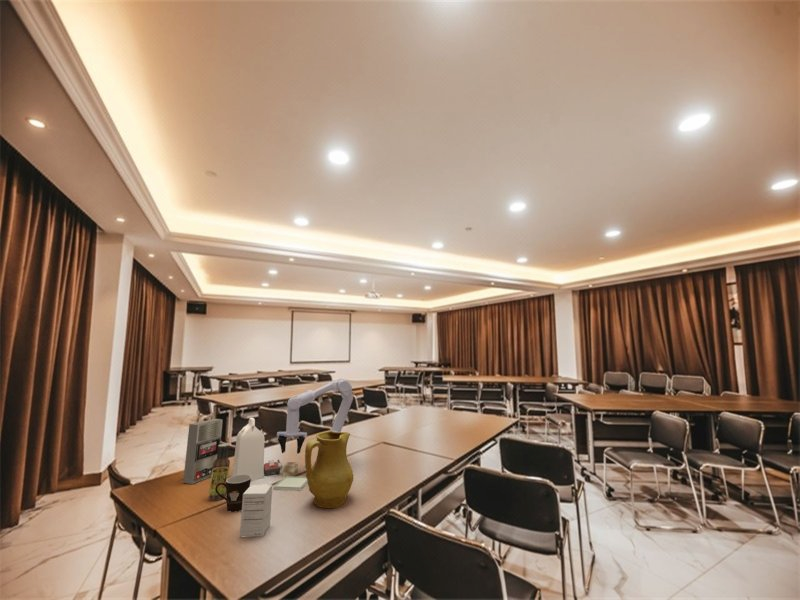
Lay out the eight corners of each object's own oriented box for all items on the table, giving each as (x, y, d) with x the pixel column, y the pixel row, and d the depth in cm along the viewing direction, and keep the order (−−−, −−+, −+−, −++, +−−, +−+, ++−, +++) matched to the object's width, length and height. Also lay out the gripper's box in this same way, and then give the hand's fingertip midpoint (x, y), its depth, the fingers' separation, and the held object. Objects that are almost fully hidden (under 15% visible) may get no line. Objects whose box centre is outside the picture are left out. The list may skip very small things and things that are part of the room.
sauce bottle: (207, 502, 123) (212, 447, 127) (209, 496, 129) (214, 443, 132) (226, 499, 126) (230, 445, 129) (227, 493, 131) (232, 442, 135)
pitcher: (353, 509, 117) (355, 437, 122) (300, 513, 114) (304, 439, 119) (352, 490, 134) (354, 427, 138) (306, 493, 131) (309, 429, 135)
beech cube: (297, 473, 154) (298, 462, 155) (293, 477, 149) (293, 465, 150) (287, 473, 155) (288, 462, 156) (282, 476, 150) (283, 465, 151)
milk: (263, 478, 148) (267, 419, 153) (235, 483, 142) (241, 422, 146) (258, 470, 158) (262, 415, 162) (232, 475, 151) (236, 417, 156)
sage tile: (311, 479, 146) (311, 477, 146) (300, 490, 134) (300, 487, 135) (285, 478, 147) (285, 476, 147) (273, 489, 135) (273, 486, 136)
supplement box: (247, 525, 106) (250, 484, 109) (270, 524, 107) (273, 483, 109) (238, 537, 99) (242, 493, 101) (263, 536, 100) (266, 492, 102)
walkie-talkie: (284, 475, 153) (280, 462, 171) (284, 465, 153) (280, 454, 171) (264, 478, 149) (262, 465, 167) (264, 468, 150) (263, 456, 168)
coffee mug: (254, 504, 121) (256, 476, 123) (236, 515, 113) (238, 484, 115) (230, 500, 125) (233, 472, 127) (211, 510, 117) (214, 480, 119)
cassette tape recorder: (192, 484, 140) (198, 425, 145) (182, 483, 142) (188, 424, 147) (219, 474, 153) (224, 419, 158) (209, 472, 155) (214, 418, 159)
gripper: (274, 424, 153) (272, 454, 150) (303, 425, 151) (302, 455, 149) (281, 421, 160) (279, 450, 157) (309, 422, 158) (308, 451, 156)
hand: (291, 452), depth 154 cm, fingers open, 7 cm apart
